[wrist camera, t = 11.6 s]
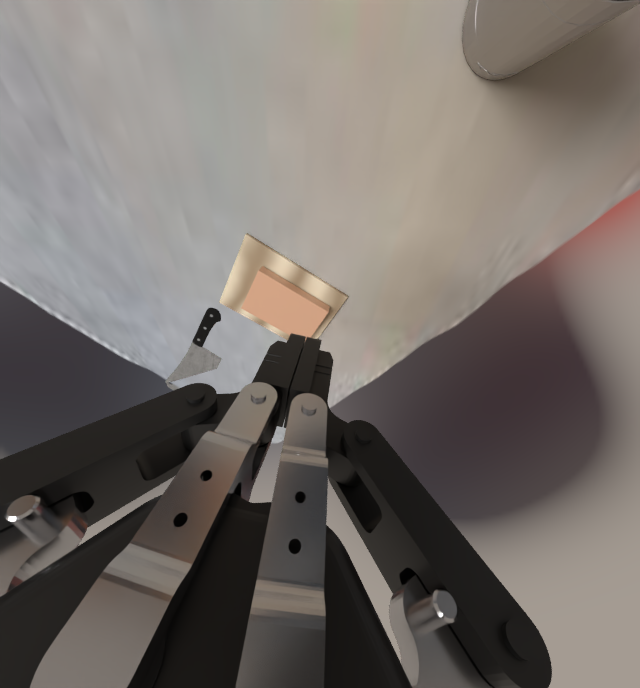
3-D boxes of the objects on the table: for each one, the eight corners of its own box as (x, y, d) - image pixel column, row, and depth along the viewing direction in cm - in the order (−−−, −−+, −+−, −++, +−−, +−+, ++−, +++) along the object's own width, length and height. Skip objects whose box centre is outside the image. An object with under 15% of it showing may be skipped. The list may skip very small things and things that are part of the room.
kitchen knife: (252, 331, 53) (207, 302, 50) (252, 333, 52) (206, 303, 50) (200, 404, 68) (164, 384, 65) (199, 405, 68) (162, 385, 65)
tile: (241, 308, 46) (305, 344, 48) (258, 270, 41) (328, 312, 44) (246, 302, 48) (308, 336, 50) (263, 265, 43) (330, 305, 46)
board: (220, 300, 49) (219, 302, 49) (247, 233, 41) (245, 234, 41) (308, 349, 53) (308, 351, 52) (347, 295, 45) (347, 297, 45)
